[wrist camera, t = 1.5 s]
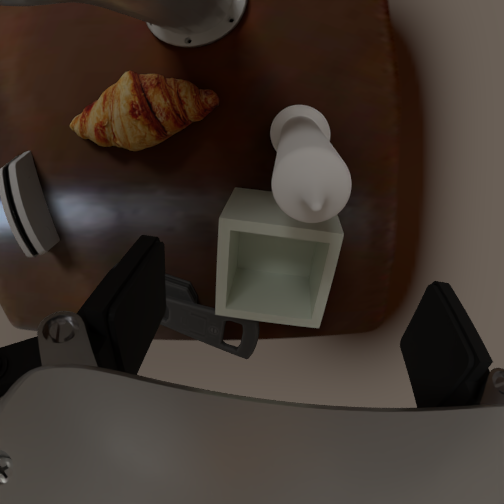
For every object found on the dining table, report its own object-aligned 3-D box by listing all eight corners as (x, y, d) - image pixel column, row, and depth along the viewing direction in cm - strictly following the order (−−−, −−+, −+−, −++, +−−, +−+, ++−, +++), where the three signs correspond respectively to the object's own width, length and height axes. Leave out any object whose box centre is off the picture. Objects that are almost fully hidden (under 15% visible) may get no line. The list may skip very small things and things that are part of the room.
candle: (337, 151, 37) (402, 251, 15) (282, 169, 39) (271, 289, 17) (317, 97, 34) (367, 111, 12) (261, 116, 36) (214, 162, 14)
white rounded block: (12, 157, 41) (-16, 170, 32) (34, 148, 42) (7, 158, 33) (42, 245, 49) (22, 271, 40) (63, 238, 49) (45, 264, 41)
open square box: (235, 187, 40) (218, 217, 32) (332, 200, 40) (343, 234, 31) (229, 270, 46) (215, 314, 38) (315, 281, 46) (319, 328, 37)
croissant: (95, 139, 42) (73, 176, 38) (67, 86, 34) (37, 120, 30) (231, 116, 39) (222, 154, 35) (214, 47, 31) (200, 75, 26)
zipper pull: (251, 364, 46) (98, 324, 47) (256, 334, 52) (115, 299, 52) (263, 321, 42) (91, 279, 42) (267, 291, 48) (111, 256, 48)
